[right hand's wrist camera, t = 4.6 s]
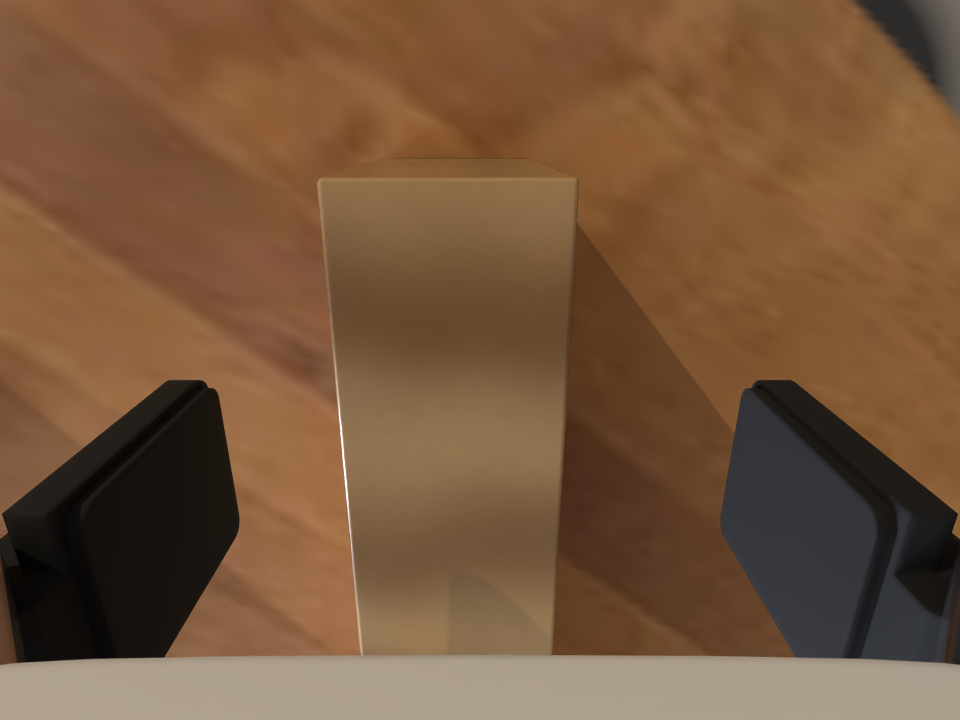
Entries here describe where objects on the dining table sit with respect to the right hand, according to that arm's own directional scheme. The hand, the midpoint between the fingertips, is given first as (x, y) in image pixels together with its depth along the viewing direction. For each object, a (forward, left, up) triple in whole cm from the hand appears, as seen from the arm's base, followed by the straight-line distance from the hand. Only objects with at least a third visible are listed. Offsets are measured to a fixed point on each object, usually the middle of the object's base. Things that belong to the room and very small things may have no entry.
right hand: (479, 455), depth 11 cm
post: (-17, -19, -11) cm, 28 cm away
